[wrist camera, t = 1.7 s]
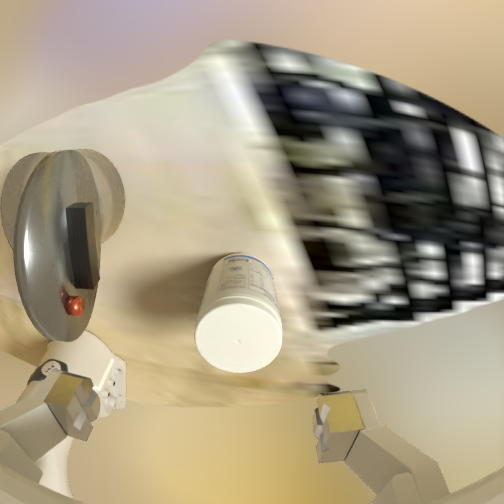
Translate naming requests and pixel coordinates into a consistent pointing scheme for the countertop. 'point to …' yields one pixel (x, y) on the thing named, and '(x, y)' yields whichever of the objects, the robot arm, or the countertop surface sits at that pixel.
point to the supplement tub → (239, 315)
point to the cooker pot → (106, 186)
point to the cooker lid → (58, 245)
